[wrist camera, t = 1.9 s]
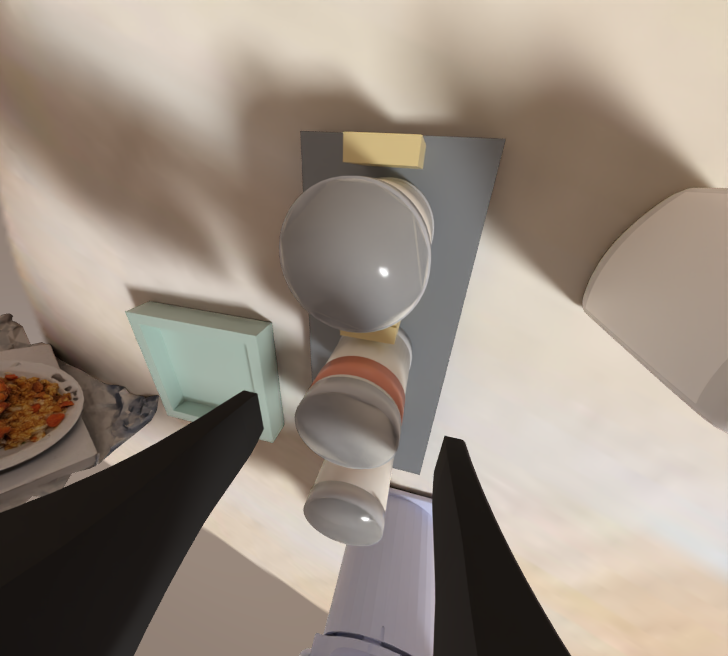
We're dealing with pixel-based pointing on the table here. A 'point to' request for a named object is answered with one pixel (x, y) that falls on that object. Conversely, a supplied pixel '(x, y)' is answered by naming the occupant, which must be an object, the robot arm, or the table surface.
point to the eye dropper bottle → (672, 297)
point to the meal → (55, 418)
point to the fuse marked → (357, 402)
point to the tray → (208, 360)
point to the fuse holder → (448, 251)
